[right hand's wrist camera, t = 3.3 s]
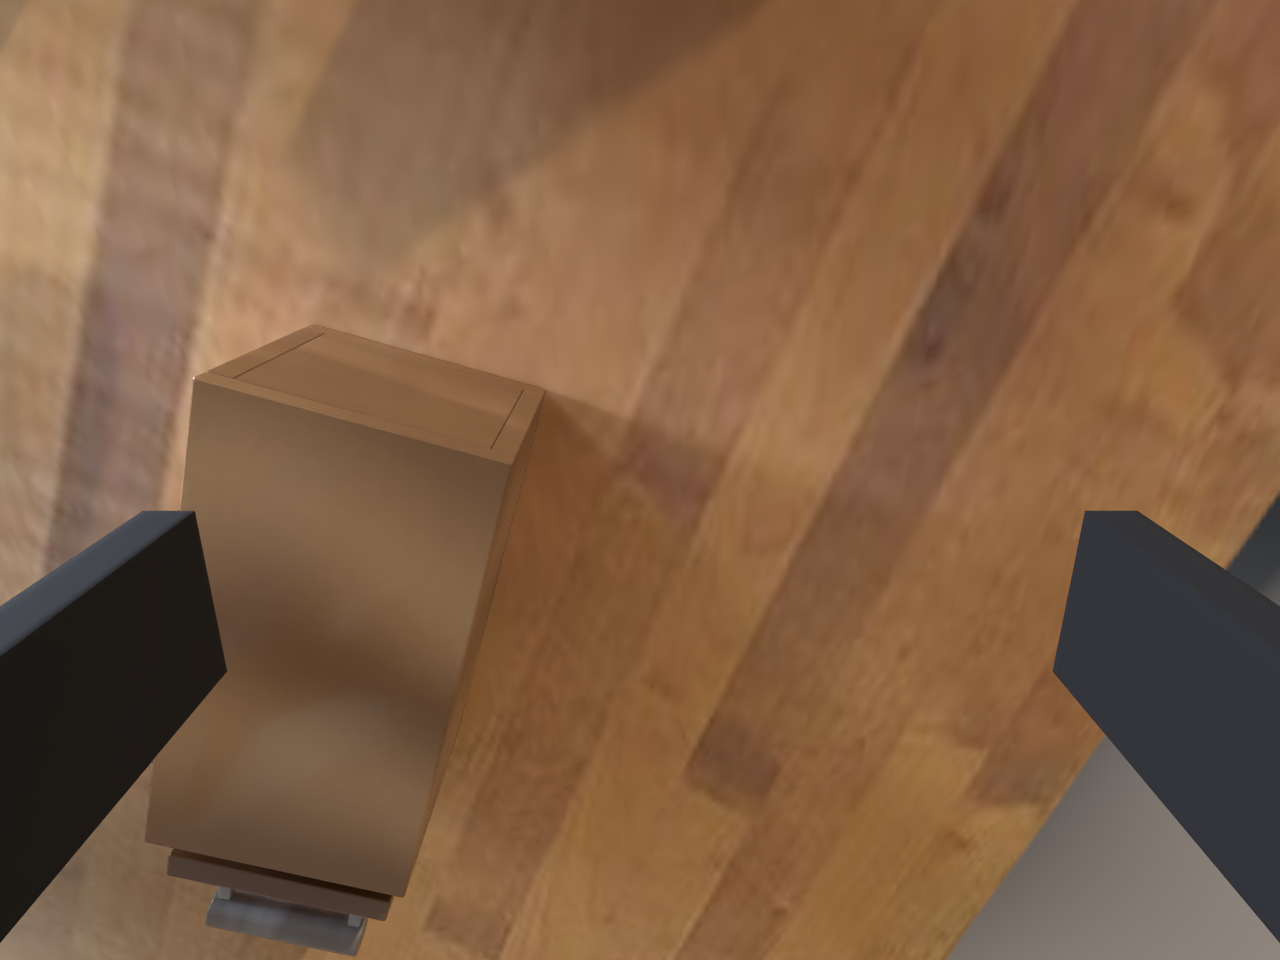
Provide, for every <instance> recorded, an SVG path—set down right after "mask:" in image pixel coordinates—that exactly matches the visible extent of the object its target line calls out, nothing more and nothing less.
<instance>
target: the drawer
mask: <svg viewBox="0 0 1280 960" xmlns="http://www.w3.org/2000/svg"><path fill="white" fill-rule="evenodd" d="M167 875H169V876H174V877H179V878H183V879H188V880H193V881H197V882H202V883H207V884H211V885H216V886H219V889H218V891H217V892H216V894H215V896H214V898H213V900H212V902H211V904H210V907H209V909H208V912H207V916H206V921H205V924H206V926H209V927H213V928H218V929H223V930H228V931H233V932H238V933H242V934H247V935H252V936H257V937H262V938H266V939H271V940H276V941H281V942H286V943H291V944H295V945H300V946H305V947H310V948H315V949H319V950H324V951H329V952H334V953H339V954H343V955H348V956H353V957H355V956H356V955H357V953H358V951H359V948H360V945H361V942H362V939H363V936H364V933H365V929H366V926H367V921H368V918H371V919H376V920H381V921H385V920H386V918H387V915H388V912H389V909H390V906H391V904H392V901H393V898H394V896H393V895H388V894H384V893H379V892H374V891H370V890H365V889H361V888H356V887H351V886H347V885H342V884H337V883H333V882H328V881H324V880H319V879H314V878H310V877H305V876H300V875H296V874H291V873H286V872H282V871H277V870H273V869H268V868H263V867H259V866H254V865H249V864H245V863H240V862H236V861H231V860H226V859H222V858H217V857H212V856H208V855H203V854H198V853H194V852H189V851H185V850H180V849H175V848H173V850H172V851H171V853H170V854H169V858H168V866H167Z"/></svg>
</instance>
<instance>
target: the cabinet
mask: <svg viewBox="0 0 1280 960" xmlns="http://www.w3.org/2000/svg"><path fill="white" fill-rule="evenodd" d="M545 392H546V391H545V389H542V388H538V387H535V386H531V385H528V384H524V383H520V382H517V381H513V380H510V379H506V378H503V377H499V376H495V375H492V374H488V373H485V372H481V371H478V370H474V369H471V368H467V367H463V366H460V365H456V364H453V363H449V362H446V361H442V360H439V359H435V358H431V357H428V356H424V355H421V354H417V353H414V352H410V351H406V350H403V349H399V348H396V347H392V346H389V345H385V344H382V343H378V342H374V341H371V340H367V339H364V338H360V337H357V336H353V335H349V334H346V333H342V332H339V331H335V330H332V329H328V328H325V327H321V326H317V325H314V324H312V325H310V326H307V327H305V328H302V329H300V330H298V331H296V332H293V333H291V334H289V335H287V336H285V337H282V338H280V339H278V340H276V341H273V342H271V343H269V344H267V345H264V346H262V347H260V348H258V349H256V350H253V351H251V352H249V353H247V354H244V355H242V356H240V357H238V358H235V359H233V360H231V361H229V362H226V363H224V364H222V365H220V366H218V367H215V368H213V369H211V370H209V371H207V372H205V373H203V374H200V375H198V376H196V377H194V378H193V384H192V394H191V403H190V413H189V422H188V432H187V442H186V451H185V461H184V470H183V480H182V489H181V499H180V509H179V511H195V514H196V519H197V524H198V529H199V534H200V539H201V544H202V549H203V554H204V559H205V564H206V569H207V573H208V578H209V583H210V588H211V593H212V598H213V603H214V608H215V613H216V618H217V623H218V628H219V633H220V638H221V643H222V648H223V653H224V658H225V663H226V668H227V672H226V673H225V675H224V676H223V677H222V678H221V679H220V681H219V682H218V683H217V684H216V685H215V687H214V688H213V689H212V690H211V691H210V693H209V694H208V695H207V696H206V697H205V699H204V700H203V701H202V702H201V703H200V705H199V706H198V707H197V708H196V709H195V711H194V712H193V713H192V714H191V715H190V717H189V718H188V719H187V720H186V721H185V722H184V724H183V725H182V726H181V727H180V728H179V730H178V731H177V732H176V733H175V734H174V736H173V737H172V738H171V739H170V740H169V742H168V743H167V744H166V745H165V746H164V748H163V749H162V750H161V751H160V752H159V754H158V755H157V756H156V757H155V758H154V760H153V767H152V777H151V786H150V796H149V805H148V815H147V824H146V834H145V842H148V843H152V844H157V845H161V846H166V847H171V848H175V849H180V850H185V851H189V852H194V853H198V854H203V855H208V856H212V857H217V858H222V859H226V860H231V861H236V862H240V863H245V864H249V865H254V866H259V867H263V868H268V869H273V870H277V871H282V872H286V873H291V874H296V875H300V876H305V877H310V878H314V879H319V880H324V881H328V882H333V883H337V884H342V885H347V886H351V887H356V888H361V889H365V890H370V891H374V892H379V893H384V894H388V895H393V896H398V897H404V896H405V893H406V890H407V887H408V884H409V881H410V878H411V875H412V872H413V869H414V866H415V863H416V860H417V857H418V854H419V851H420V848H421V844H422V841H423V838H424V835H425V832H426V829H427V826H428V823H429V820H430V817H431V814H432V811H433V808H434V805H435V802H436V799H437V796H438V793H439V790H440V787H441V784H442V781H443V777H444V774H445V771H446V768H447V765H448V762H449V759H450V756H451V753H452V750H453V747H454V744H455V741H456V737H457V734H458V730H459V726H460V722H461V718H462V714H463V710H464V706H465V702H466V699H467V695H468V691H469V687H470V683H471V679H472V675H473V671H474V667H475V664H476V660H477V656H478V652H479V648H480V644H481V640H482V636H483V633H484V629H485V625H486V621H487V617H488V613H489V609H490V605H491V601H492V598H493V594H494V590H495V586H496V582H497V578H498V574H499V570H500V566H501V563H502V559H503V555H504V551H505V547H506V543H507V539H508V535H509V531H510V528H511V524H512V520H513V516H514V512H515V508H516V504H517V500H518V496H519V493H520V489H521V485H522V481H523V477H524V473H525V469H526V465H527V461H528V458H529V454H530V450H531V446H532V442H533V438H534V434H535V430H536V426H537V423H538V419H539V415H540V411H541V407H542V403H543V399H544V395H545Z"/></svg>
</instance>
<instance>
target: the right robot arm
mask: <svg viewBox="0 0 1280 960" xmlns="http://www.w3.org/2000/svg"><path fill="white" fill-rule="evenodd" d="M226 672H227V668H226V663H225V658H224V653H223V648H222V643H221V638H220V633H219V628H218V623H217V618H216V613H215V608H214V603H213V598H212V593H211V588H210V583H209V578H208V573H207V569H206V564H205V559H204V554H203V549H202V544H201V539H200V534H199V529H198V524H197V519H196V514H195V511H142V512H140V513H139V514H137V515H136V516H134V517H133V518H131V519H130V520H129V521H127V522H126V523H124V524H123V525H121V526H120V527H118V528H117V529H115V530H114V531H112V532H111V533H109V534H108V535H106V536H105V537H103V538H102V539H100V540H99V541H97V542H96V543H94V544H93V545H91V546H90V547H88V548H87V549H85V550H84V551H82V552H81V553H79V554H78V555H76V556H75V557H73V558H72V559H70V560H69V561H67V562H66V563H64V564H63V565H61V566H60V567H58V568H57V569H55V570H54V571H52V572H51V573H49V574H48V575H46V576H45V577H43V578H42V579H40V580H39V581H37V582H36V583H34V584H33V585H31V586H30V587H28V588H27V589H25V590H24V591H22V592H21V593H19V594H18V595H16V596H15V597H14V598H12V599H11V600H9V601H8V602H6V603H5V604H3V605H2V606H0V942H1V941H2V940H3V939H4V938H5V936H6V935H7V934H8V933H9V932H10V930H11V929H12V928H13V927H14V926H15V924H16V923H17V922H18V921H19V920H20V919H21V917H22V916H23V915H24V914H25V913H26V911H27V910H28V909H29V908H30V907H31V905H32V904H33V903H34V902H35V901H36V899H37V898H38V897H39V896H40V895H41V893H42V892H43V891H44V890H45V889H46V887H47V886H48V885H49V884H50V883H51V881H52V880H53V879H54V878H55V877H56V875H57V874H58V873H59V872H60V871H61V870H62V868H63V867H64V866H65V865H66V864H67V862H68V861H69V860H70V859H71V858H72V856H73V855H74V854H75V853H76V852H77V850H78V849H79V848H80V847H81V846H82V844H83V843H84V842H85V841H86V840H87V838H88V837H89V836H90V835H91V834H92V832H93V831H94V830H95V829H96V828H97V826H98V825H99V824H100V823H101V822H102V821H103V819H104V818H105V817H106V816H107V815H108V813H109V812H110V811H111V810H112V809H113V807H114V806H115V805H116V804H117V803H118V801H119V800H120V799H121V798H122V797H123V795H124V794H125V793H126V792H127V791H128V789H129V788H130V787H131V786H132V785H133V783H134V782H135V781H136V780H137V779H138V777H139V776H140V775H141V774H142V773H143V771H144V770H145V769H146V768H147V767H148V766H149V764H150V763H151V762H152V761H153V760H154V758H155V757H156V756H157V755H158V754H159V752H160V751H161V750H162V749H163V748H164V746H165V745H166V744H167V743H168V742H169V740H170V739H171V738H172V737H173V736H174V734H175V733H176V732H177V731H178V730H179V728H180V727H181V726H182V725H183V724H184V722H185V721H186V720H187V719H188V718H189V717H190V715H191V714H192V713H193V712H194V711H195V709H196V708H197V707H198V706H199V705H200V703H201V702H202V701H203V700H204V699H205V697H206V696H207V695H208V694H209V693H210V691H211V690H212V689H213V688H214V687H215V685H216V684H217V683H218V682H219V681H220V679H221V678H222V677H223V676H224V675H225V673H226ZM1053 672H1054V673H1055V675H1056V676H1057V677H1058V678H1059V679H1060V681H1061V682H1062V683H1063V684H1064V685H1065V687H1066V688H1067V689H1068V690H1069V691H1070V693H1071V694H1072V695H1073V696H1074V697H1075V699H1076V700H1077V701H1078V702H1079V703H1080V705H1081V706H1082V707H1083V708H1084V709H1085V711H1086V712H1087V713H1088V714H1089V715H1090V717H1091V718H1092V719H1093V720H1094V721H1095V722H1096V724H1097V725H1098V726H1099V727H1100V728H1101V730H1102V731H1103V732H1104V733H1105V734H1106V736H1107V737H1108V738H1109V739H1110V740H1111V741H1112V743H1113V744H1114V745H1115V746H1116V748H1117V749H1118V750H1119V751H1120V752H1121V754H1122V755H1123V756H1124V757H1125V758H1126V760H1127V761H1128V762H1129V763H1130V764H1131V766H1132V767H1133V768H1134V769H1135V770H1136V771H1137V773H1138V774H1139V775H1140V776H1141V777H1142V779H1143V780H1144V781H1145V782H1146V783H1147V785H1148V786H1149V787H1150V788H1151V789H1152V791H1153V792H1154V793H1155V794H1156V795H1157V797H1158V798H1159V799H1160V800H1161V801H1162V803H1163V804H1164V805H1165V806H1166V807H1167V809H1168V810H1169V811H1170V812H1171V813H1172V815H1173V816H1174V817H1175V818H1176V819H1177V820H1178V822H1179V823H1180V824H1181V825H1182V826H1183V828H1184V829H1185V830H1186V831H1187V832H1188V834H1189V835H1190V836H1191V837H1192V838H1193V840H1194V841H1195V842H1196V843H1197V844H1198V846H1199V847H1200V848H1201V849H1202V850H1203V852H1204V853H1205V854H1206V855H1207V856H1208V858H1209V859H1210V860H1211V861H1212V862H1213V864H1214V865H1215V866H1216V867H1217V868H1218V869H1219V871H1220V872H1221V873H1222V874H1223V875H1224V877H1225V878H1226V879H1227V880H1228V881H1229V883H1230V884H1231V885H1232V886H1233V887H1234V889H1235V890H1236V891H1237V892H1238V893H1239V895H1240V896H1241V897H1242V898H1243V899H1244V901H1245V902H1246V903H1247V904H1248V905H1249V906H1250V908H1251V909H1252V910H1253V911H1254V913H1255V914H1256V915H1257V916H1258V917H1259V918H1260V920H1261V921H1262V922H1263V923H1264V924H1265V926H1266V927H1267V928H1268V929H1269V930H1270V932H1271V933H1272V934H1273V935H1274V936H1275V938H1276V939H1277V940H1278V941H1279V942H1280V606H1278V605H1277V604H1275V603H1274V602H1272V601H1271V600H1269V599H1268V598H1266V597H1265V596H1263V595H1262V594H1261V593H1259V592H1258V591H1256V590H1255V589H1253V588H1252V587H1250V586H1249V585H1247V584H1246V583H1244V582H1243V581H1241V580H1240V579H1238V578H1237V577H1235V576H1234V575H1232V574H1231V573H1229V572H1228V571H1226V570H1225V569H1223V568H1222V567H1220V566H1219V565H1217V564H1216V563H1214V562H1213V561H1211V560H1210V559H1208V558H1207V557H1205V556H1204V555H1202V554H1201V553H1199V552H1198V551H1196V550H1195V549H1193V548H1192V547H1190V546H1189V545H1187V544H1186V543H1184V542H1183V541H1181V540H1180V539H1178V538H1177V537H1175V536H1174V535H1172V534H1171V533H1169V532H1168V531H1166V530H1165V529H1163V528H1162V527H1160V526H1159V525H1157V524H1156V523H1154V522H1153V521H1151V520H1150V519H1148V518H1147V517H1146V516H1144V515H1143V514H1141V513H1140V512H1138V511H1085V514H1084V519H1083V524H1082V529H1081V534H1080V539H1079V544H1078V549H1077V554H1076V559H1075V564H1074V569H1073V573H1072V578H1071V583H1070V588H1069V593H1068V598H1067V603H1066V608H1065V613H1064V618H1063V623H1062V628H1061V633H1060V638H1059V643H1058V648H1057V653H1056V658H1055V663H1054V668H1053Z"/></svg>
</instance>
